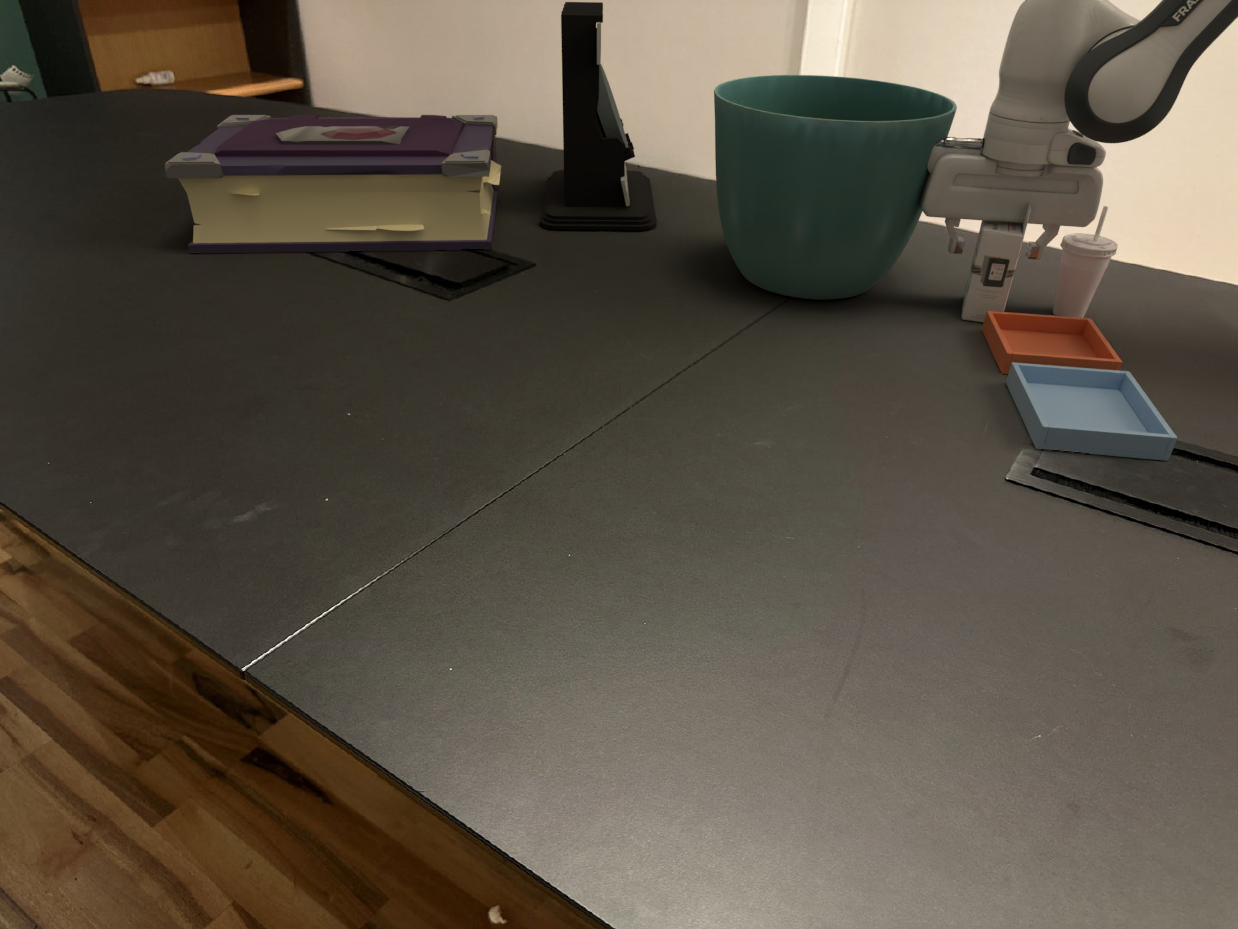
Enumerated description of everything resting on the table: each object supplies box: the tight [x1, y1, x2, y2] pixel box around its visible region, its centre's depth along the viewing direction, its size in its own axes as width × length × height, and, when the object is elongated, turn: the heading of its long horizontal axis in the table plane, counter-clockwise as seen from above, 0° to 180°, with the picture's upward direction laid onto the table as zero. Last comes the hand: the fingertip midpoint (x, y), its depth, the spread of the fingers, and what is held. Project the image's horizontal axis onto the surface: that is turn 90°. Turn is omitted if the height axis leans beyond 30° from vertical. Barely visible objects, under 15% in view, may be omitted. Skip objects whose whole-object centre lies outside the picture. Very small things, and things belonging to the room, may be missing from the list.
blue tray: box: [1005, 362, 1178, 462], centre depth 92 cm, size 12×14×3 cm
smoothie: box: [1052, 205, 1119, 318], centre depth 113 cm, size 6×6×14 cm
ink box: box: [961, 203, 1031, 324], centre depth 113 cm, size 9×5×15 cm, turn 160°
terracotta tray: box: [981, 311, 1123, 375], centre depth 105 cm, size 12×12×3 cm
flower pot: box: [713, 74, 958, 300], centre depth 120 cm, size 30×30×24 cm
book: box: [164, 114, 502, 254], centre depth 142 cm, size 33×45×14 cm
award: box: [539, 1, 658, 231], centre depth 146 cm, size 30×19×30 cm, turn 1°
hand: (993, 255), depth 113 cm, fingers open, 8 cm apart
